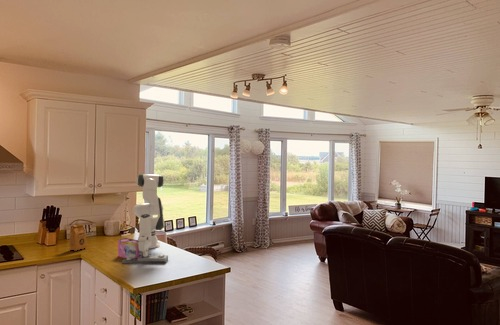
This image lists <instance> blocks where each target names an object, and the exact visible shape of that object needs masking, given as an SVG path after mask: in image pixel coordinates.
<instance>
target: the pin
mask: <svg viewBox="0 0 500 325" xmlns="http://www.w3.org/2000/svg"><path fill="white" fill-rule="evenodd" d="M145 252H146V255H145V256H143V258H148V255H149V249H148V248H147V249H146V251H145Z"/></svg>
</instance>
